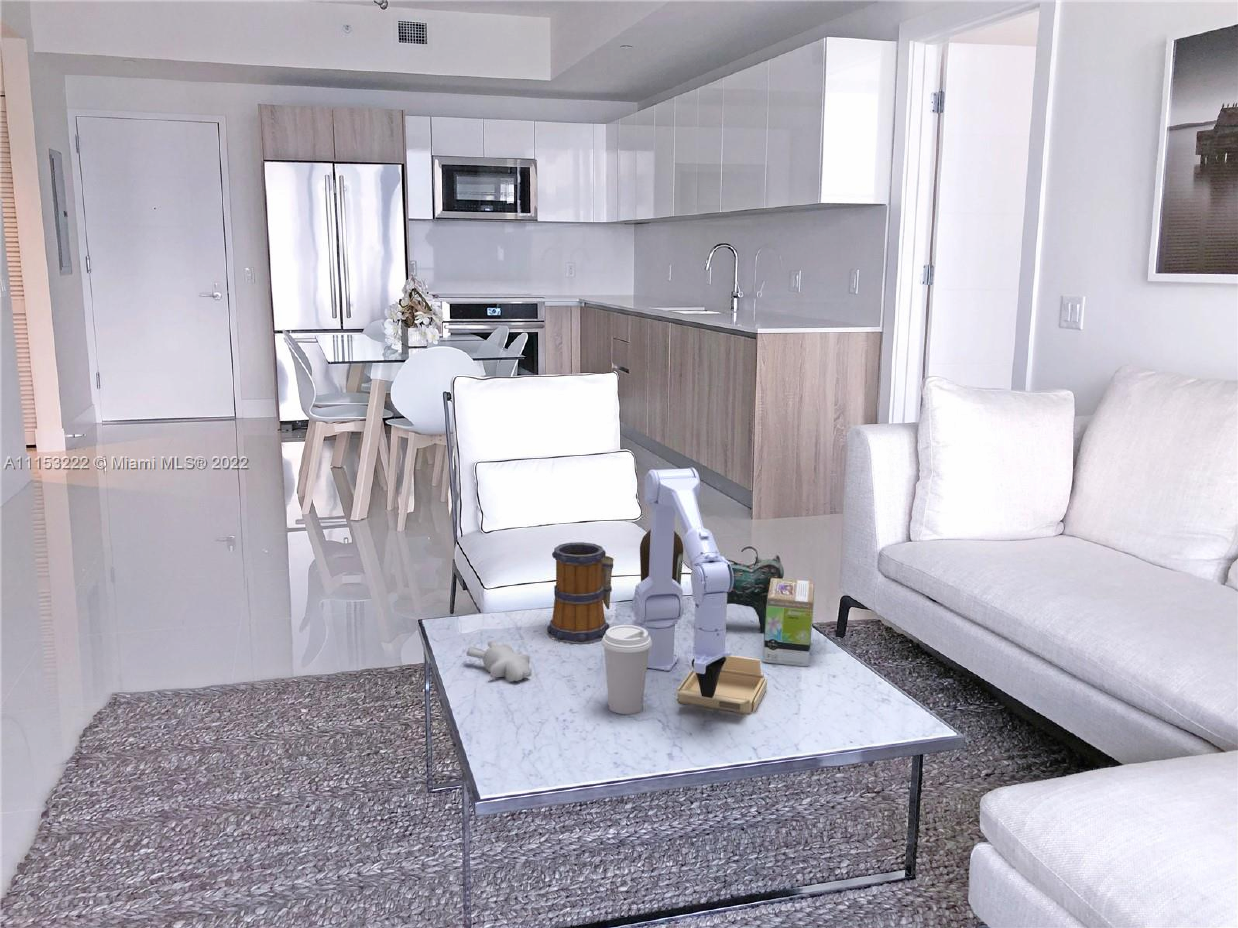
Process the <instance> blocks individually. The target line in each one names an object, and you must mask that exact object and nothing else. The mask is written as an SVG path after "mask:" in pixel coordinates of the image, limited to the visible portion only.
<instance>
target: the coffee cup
mask: <svg viewBox="0 0 1238 928" xmlns="http://www.w3.org/2000/svg"><path fill="white" fill-rule="evenodd" d="M600 642H601V643H600V644H601V645H602V646H603V650H604V662H605V674H606V675H605V679H606V688H607V689H606V690H607V691H606V692H607V702H608V703H607V705H608V709H609V710H610V711H612V712H613V713H615V714H619V715H632V714H636V713H639V712H641V711H642V710H643V705H644V696H645V689H646V688H645V687H646V677H647V670H648V668H647V663H648V654H649V648H650V647H651V646H652V641H651V638H650V636H649V635H648V632H647V630H645V629H644V628H642V627H638V626H633V625H631V624H621V625H620V624H619V625H615V626H611V627H609V629H607V631H606V633H605V635H604V636H603V638H602V641H600Z"/></svg>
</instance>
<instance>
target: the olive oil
mask: <svg viewBox="0 0 1238 928" xmlns="http://www.w3.org/2000/svg"><path fill="white" fill-rule="evenodd" d="M650 535H651V528H650V529H649V530H648V531H647V532H646V533H645V534H644V535H643V537H642V539H641V541H640V544H639V545H640V546H639V561H640V562H639V563H640V564H639V565H640V567H639V569H640V582H642V581H643V580H644V579H646V578H647V577H648V576H649V560H650ZM683 561H684V545H683V540H682V539H681V536H680V535H679V534H678V533H677V532H676V531H675V530H674V546H673V568H672V579H673V580H675V581H676V582H677V583H679V585H680V586H681V584H682V572H683ZM681 587H682V586H681Z"/></svg>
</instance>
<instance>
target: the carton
mask: <svg viewBox="0 0 1238 928" xmlns="http://www.w3.org/2000/svg"><path fill="white" fill-rule="evenodd" d="M693 670H694V669H693V667H692V668H691V670H690V671H689V672H688V674H687V675H686V677H685V678H684V680H682V682H681V684H680V685H679V687H678V688H677V690H676V692H678V691H681V690H685V691H691V692H697V693H701V692H700V687H699V682H698V678H697V675H696V673H694V672H693ZM767 686H768V679H767V678H766V677H765V675H764V674H762V673H761V675H760V674H753V673H747V672H740V671H733V670H727V669H721V672H720V675H719V678H718V682H717V687H716V691H715V694H714V695H716V696H722V697H728V698H735V699H741V700H747V702H746V703H744V704H739V703H733V702H726V701H720V700H714V699H708V698H702V697H695V696H689V695H683V694H677V693H676V694H677V695H676V699H677V700H678V704H683V705H684V704H685V705H689V706H695V707H702V708H707V709H712V710H713V709H714V710H719V709H720V711H725V710H728V711H727V712H731V711H733V713H737V712H738V714H743V715H745V714H746V715H751V714H752V713H753V712H756V711H757V709H758V706H759V705H760V702H761V700H762V698H763V697H764V694H765V692H766V690H767V688H768V687H767Z"/></svg>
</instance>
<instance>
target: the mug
mask: <svg viewBox="0 0 1238 928" xmlns="http://www.w3.org/2000/svg"><path fill="white" fill-rule="evenodd" d="M553 549H554V551H553V552H552V553H551V556H552V558H553V559H555V585H554V586H553V590H554V591H553V593H554V595H553V596H554V601H553V608H552V609H553V610H552V617H551V618H552V619H551V620H550V621H549V625H548V626H546V632H548V633H547V636H549V637H550V638H549V637H548V638H549V639H551V638H554V639H555V640H556V641H555V640H554V641H555V642H557V641H558V642H557V643H560V642H565V643H564V644H566V643H570V644H569V645H573V644H578V645H591V643H592V644H595V643H594V642H596V643H599V642H602V638H603V636H604V635H605V633H606V631H607V629H609V628H610V624H609V622H607V621H606V618H605V610H604V606H605V608H606V609H607V610H610V606H611V605H610V603H611V593H612V592H613V589H612V576H613V575H612V574H613V569H614V558H613V557H611V556H608V555H607V553H606V550H605V549H604V548H603V547H602V545H598V544H596V543H591V542H585V541H584V542H583V541H581V542H580V541H579V542H567V543H561V544H558V545H557V546H555V547H554V548H553Z"/></svg>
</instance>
